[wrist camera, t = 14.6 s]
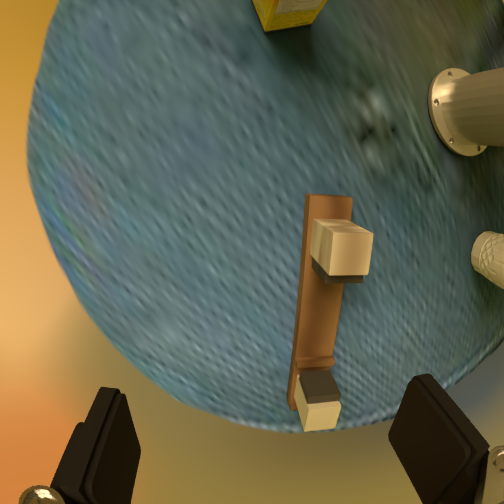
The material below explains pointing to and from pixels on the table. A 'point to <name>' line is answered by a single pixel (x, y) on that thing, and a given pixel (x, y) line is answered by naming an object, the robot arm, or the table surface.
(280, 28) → the supplement box
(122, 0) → the table surface
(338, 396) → the cream brown block
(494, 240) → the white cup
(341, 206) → the rail
